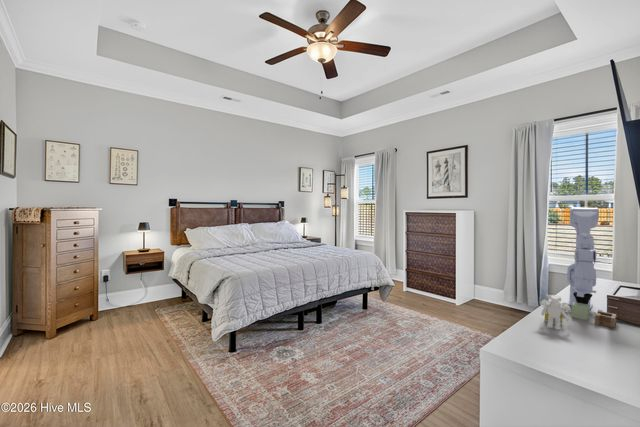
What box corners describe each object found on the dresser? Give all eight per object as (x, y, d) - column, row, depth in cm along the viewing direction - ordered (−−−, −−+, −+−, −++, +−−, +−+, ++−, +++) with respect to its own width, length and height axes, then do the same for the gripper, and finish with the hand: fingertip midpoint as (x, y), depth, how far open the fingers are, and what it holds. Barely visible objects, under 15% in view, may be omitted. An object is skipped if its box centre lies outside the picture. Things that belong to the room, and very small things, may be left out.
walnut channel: (562, 310, 131) (562, 301, 131) (616, 322, 119) (616, 312, 119) (557, 316, 124) (558, 306, 124) (613, 329, 112) (614, 318, 112)
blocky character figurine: (537, 325, 114) (539, 292, 114) (540, 322, 117) (542, 291, 116) (568, 333, 107) (570, 299, 107) (570, 330, 110) (572, 296, 110)
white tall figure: (556, 319, 120) (557, 294, 120) (565, 325, 115) (567, 299, 115) (541, 318, 121) (542, 294, 121) (550, 324, 116) (551, 298, 115)
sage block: (573, 313, 128) (573, 301, 127) (589, 317, 124) (589, 304, 124) (571, 316, 124) (571, 304, 124) (587, 320, 121) (588, 307, 120)
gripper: (594, 282, 119) (592, 318, 119) (599, 277, 128) (597, 309, 129) (571, 279, 124) (569, 312, 124) (577, 274, 134) (575, 305, 134)
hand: (581, 311), depth 127 cm, fingers closed
